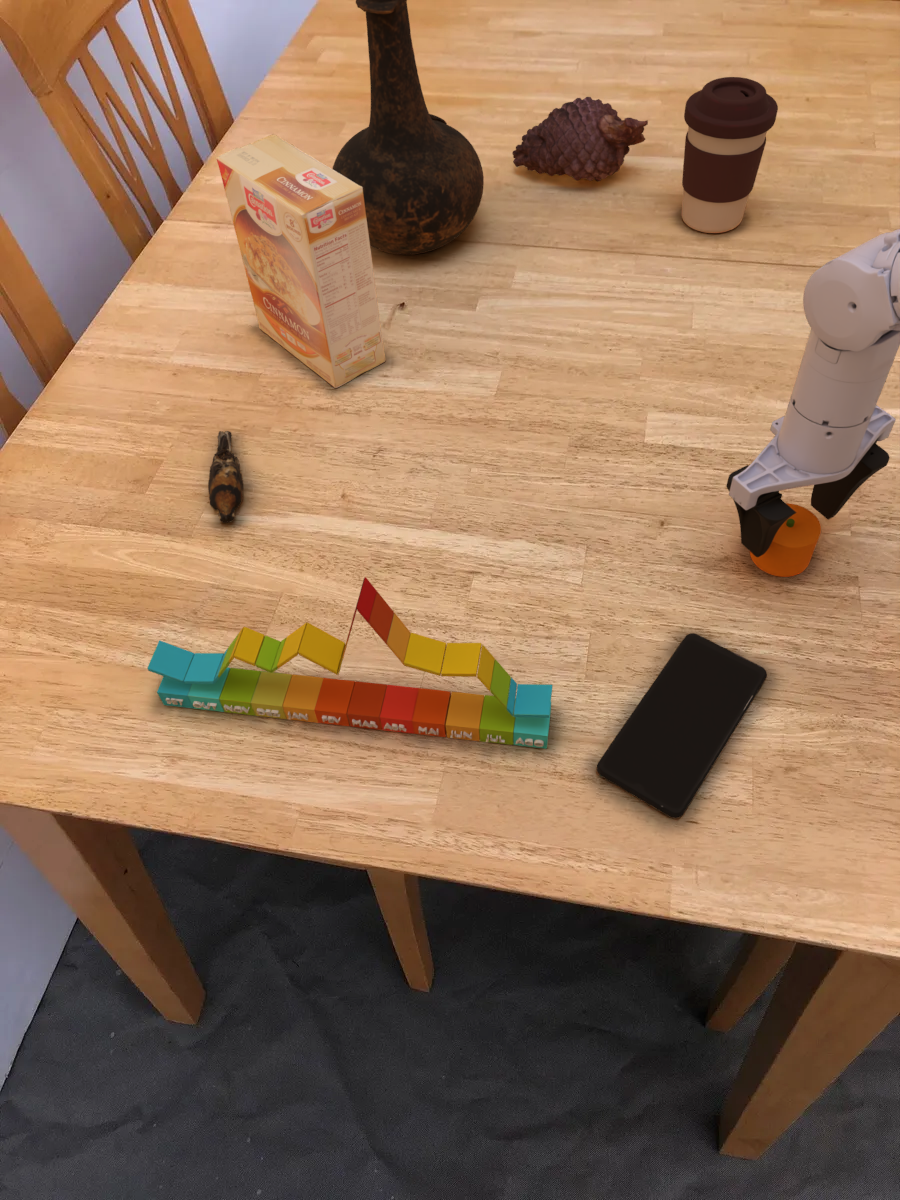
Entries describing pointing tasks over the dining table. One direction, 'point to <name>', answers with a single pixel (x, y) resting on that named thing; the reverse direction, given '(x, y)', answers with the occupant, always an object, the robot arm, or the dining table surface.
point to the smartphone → (682, 724)
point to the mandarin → (791, 545)
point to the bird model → (225, 480)
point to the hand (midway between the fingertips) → (787, 529)
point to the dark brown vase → (407, 149)
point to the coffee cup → (723, 151)
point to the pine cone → (579, 141)
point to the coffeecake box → (305, 256)
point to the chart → (359, 683)
